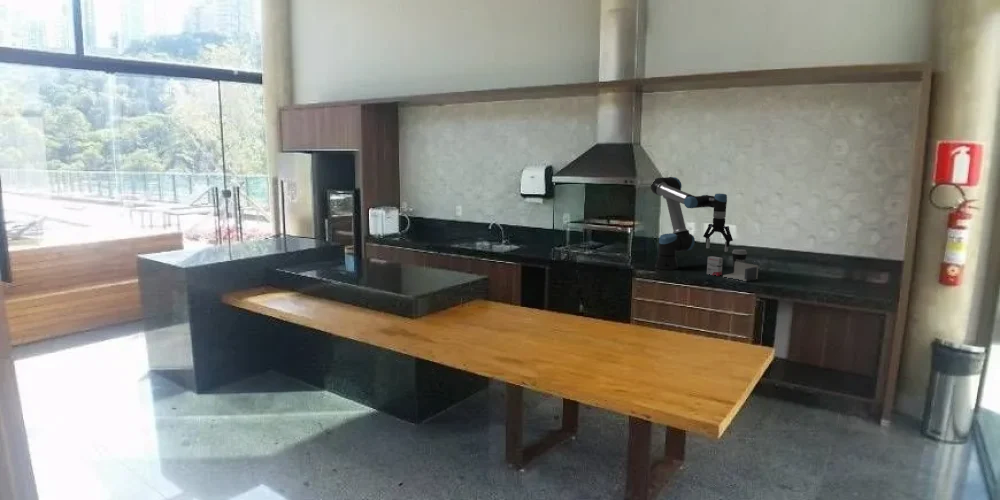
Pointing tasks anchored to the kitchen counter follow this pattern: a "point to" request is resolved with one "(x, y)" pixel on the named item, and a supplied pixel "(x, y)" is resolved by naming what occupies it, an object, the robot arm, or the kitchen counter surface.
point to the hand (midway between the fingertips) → (716, 249)
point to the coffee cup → (739, 256)
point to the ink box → (714, 266)
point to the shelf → (744, 271)
